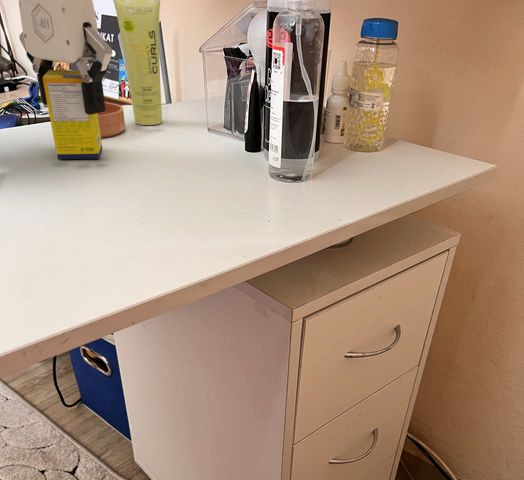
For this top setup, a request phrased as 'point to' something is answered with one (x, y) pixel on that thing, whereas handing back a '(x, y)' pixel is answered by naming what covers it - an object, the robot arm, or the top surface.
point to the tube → (142, 56)
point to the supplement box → (71, 116)
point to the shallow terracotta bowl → (111, 120)
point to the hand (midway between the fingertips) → (73, 107)
